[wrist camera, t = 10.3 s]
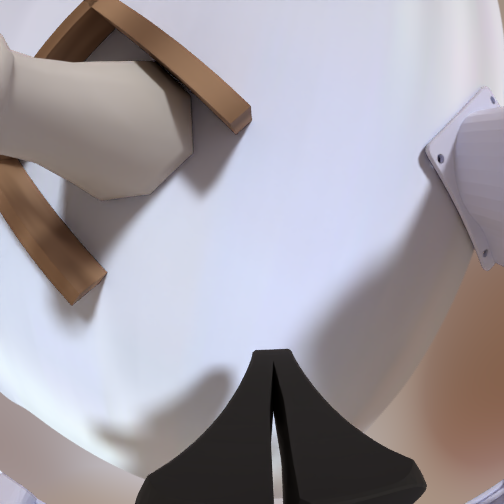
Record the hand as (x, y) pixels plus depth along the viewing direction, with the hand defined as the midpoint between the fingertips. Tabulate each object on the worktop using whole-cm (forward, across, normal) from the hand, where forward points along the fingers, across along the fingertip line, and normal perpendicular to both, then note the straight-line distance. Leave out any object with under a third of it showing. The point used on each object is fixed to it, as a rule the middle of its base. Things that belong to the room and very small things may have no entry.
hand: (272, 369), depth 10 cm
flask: (+5, +7, -10) cm, 13 cm away
